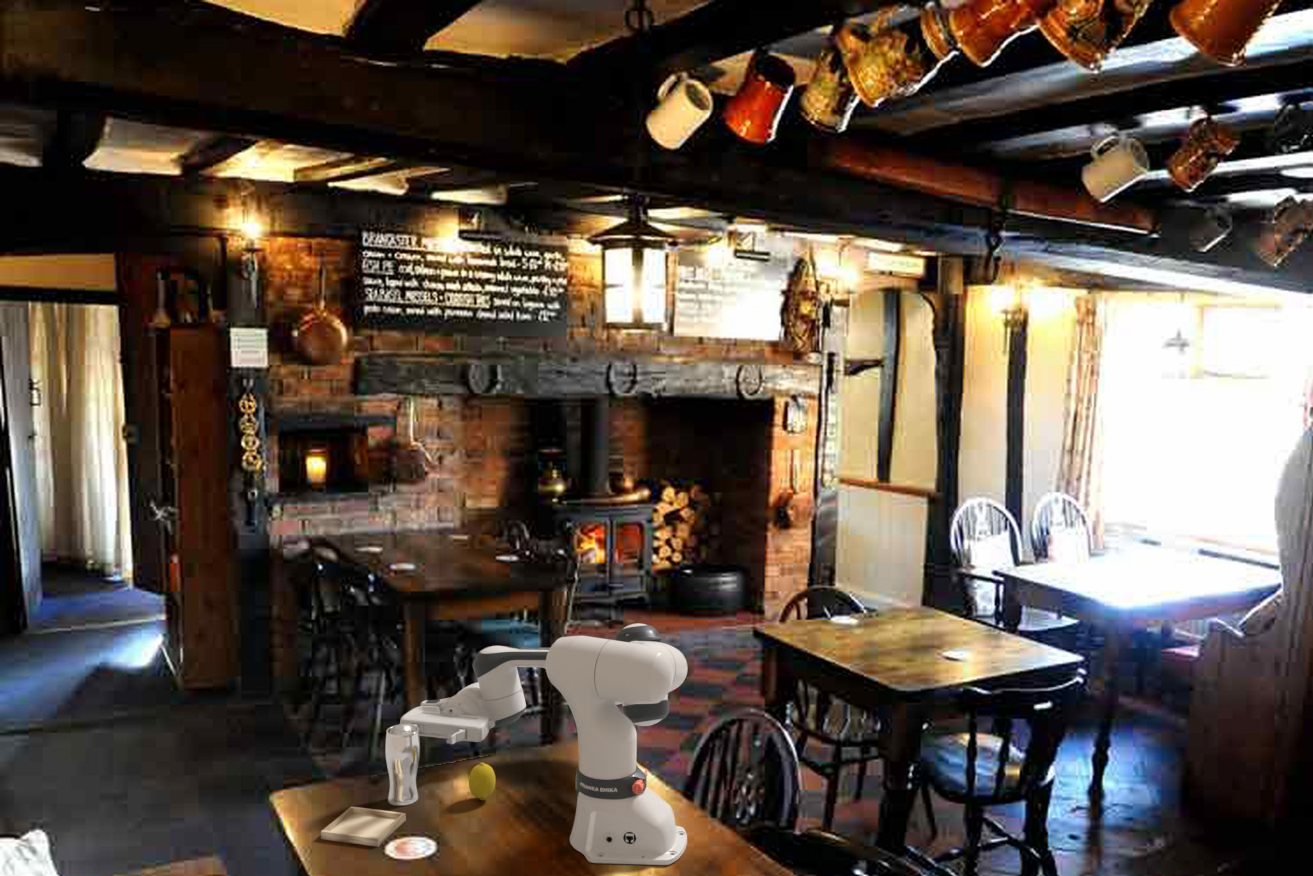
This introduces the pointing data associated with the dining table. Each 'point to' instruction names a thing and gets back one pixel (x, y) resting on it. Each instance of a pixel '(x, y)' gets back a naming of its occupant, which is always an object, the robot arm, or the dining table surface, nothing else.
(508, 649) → the robot arm
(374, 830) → the tray
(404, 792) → the beer glass
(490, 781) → the lemon
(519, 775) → the dining table surface
